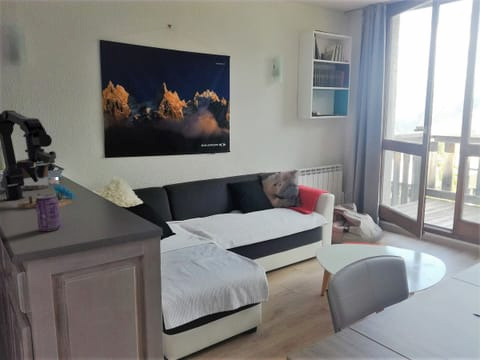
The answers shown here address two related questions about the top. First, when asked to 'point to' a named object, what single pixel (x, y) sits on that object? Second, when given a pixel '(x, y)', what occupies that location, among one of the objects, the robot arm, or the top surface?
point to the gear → (63, 192)
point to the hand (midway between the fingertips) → (38, 181)
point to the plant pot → (37, 177)
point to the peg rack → (32, 202)
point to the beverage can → (47, 212)
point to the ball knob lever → (42, 181)
